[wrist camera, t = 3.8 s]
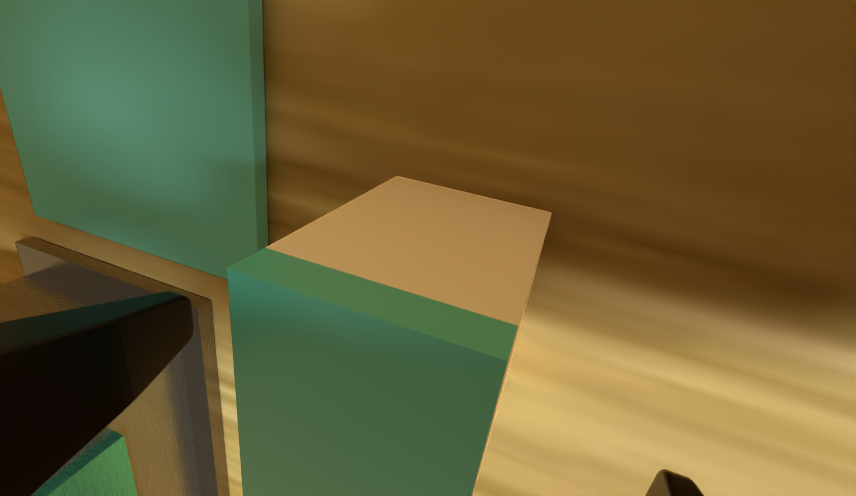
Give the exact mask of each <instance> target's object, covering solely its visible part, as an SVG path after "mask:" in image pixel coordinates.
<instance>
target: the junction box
mask: <svg viewBox="0 0 856 496" xmlns="http://www.w3.org/2000/svg"><path fill="white" fill-rule="evenodd" d="M15 244H16V248H17V251H18V254H19V258H20V261H21V264H22V268H23V271H24V274H25V276H24V277H21V278H18V279H16V280H13V281H10V282H8V283H5V284H2V285H0V322H5V321H10V320H15V319H21V318H26V317H31V316H37V315H42V314H48V313H53V312H58V311H64V310H69V309H74V308H80V307H85V306H90V305H96V304H101V303H107V302H112V301H117V300H123V299H128V298H133V297H139V296H144V295H149V294H155V293H160V292H166V291H173V292H177V293H179V294H182V295H185V296H187V297H188V298H189V299H190V300H191V303H192V311H193V320H194V334H193V337H192V339H191V340H190V342H189V343H188V344H187V345H186V346H185V347H184V348H183V349H182V350H181V351H180V353H179V354H178V355H177V356H176V357H175V358H174V359H173V360H172V361H171V362H170V363H169V364H168V366H167V367H166V368H165V369H164V370H163V371H162V372H161V373H160V374H159V375H158V376H157V377H156V379H155V380H154V381H153V382H152V383H151V384H150V385H149V386H148V387H147V388H146V389H145V390H144V392H143V393H142V394H141V395H140V396H139V397H138V398H137V399H136V400H135V401H134V402H133V403H132V404H131V405H130V406H129V407H128V408H126V409H125V410H124V411H123V412H122V413H121V414H120V415H119V416H118V417H117V418H116V419H115V420H113V421H112V422H111V423H110V424H109V425H108V426H107V427H106V428H105V429H104V430H103V431H102V432H100V433H99V434H98V435H97V436H96V437H95V438H94V439H93V440H92V441H91V442H90V443H88V444H87V445H86V446H85V447H84V448H83V449H82V450H81V451H80V452H79V453H78V454H76V455H75V456H74V457H73V458H72V459H71V460H70V461H69V462H68V463H67V464H66V465H64V466H63V467H62V468H61V469H60V470H59V471H58V472H57V473H56V474H55V475H54V476H52V477H51V478H50V479H49V480H48V481H47V482H46V483H45V484H44V485H43V486H42V487H41V488H39V489H38V490H37V491H36V492H35V493H34V494H33V495H32V496H229V486H228V476H227V465H226V455H225V444H224V433H223V423H222V412H221V401H220V391H219V380H218V370H217V359H216V348H215V338H214V327H213V317H212V306H211V300H209V299H206V298H203V297H200V296H197V295H195V294H192V293H189V292H186V291H183V290H180V289H178V288H175V287H172V286H169V285H166V284H164V283H161V282H158V281H155V280H152V279H149V278H147V277H144V276H141V275H138V274H135V273H133V272H130V271H127V270H124V269H121V268H119V267H116V266H113V265H110V264H107V263H104V262H102V261H99V260H96V259H93V258H90V257H88V256H85V255H82V254H79V253H76V252H73V251H71V250H68V249H65V248H62V247H59V246H57V245H54V244H51V243H48V242H45V241H42V240H40V239H37V238H34V237H29V238H26V239H23V240H20V241H16V242H15Z"/></svg>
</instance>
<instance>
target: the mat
mask: <svg viewBox="0 0 856 496" xmlns="http://www.w3.org/2000/svg"><path fill="white" fill-rule="evenodd" d="M0 88H1V92H2V95H3V99H4V103H5V106H6V110H7V114H8V117H9V121H10V125H11V129H12V132H13V136H14V140H15V143H16V147H17V151H18V154H19V158H20V162H21V165H22V169H23V173H24V177H25V180H26V184H27V188H28V191H29V195H30V199H31V202H32V206H33V210H34V213H35V215H37V216H40V217H43V218H46V219H49V220H52V221H55V222H57V223H60V224H63V225H66V226H69V227H72V228H75V229H78V230H81V231H84V232H87V233H90V234H93V235H96V236H99V237H102V238H105V239H108V240H111V241H114V242H117V243H120V244H123V245H126V246H129V247H132V248H135V249H138V250H141V251H144V252H147V253H150V254H153V255H156V256H159V257H162V258H165V259H168V260H171V261H173V262H176V263H179V264H182V265H185V266H188V267H191V268H194V269H197V270H200V271H203V272H206V273H209V274H212V275H215V276H218V277H221V278H224V279H227V280H228V276H227V268H228V267H230V266H232V265H234V264H236V263H238V262H239V261H241V260H243V259H245V258H247V257H249V256H250V255H252V254H254V253H256V252H258V251H260V250H261V249H263V248H265V247H267V246H268V210H267V171H266V133H265V95H264V56H263V18H262V0H0Z"/></svg>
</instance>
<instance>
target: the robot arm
mask: <svg viewBox="0 0 856 496" xmlns="http://www.w3.org/2000/svg"><path fill="white" fill-rule="evenodd" d="M193 334H194V320H193V311H192V303H191V300H190V299H189V298H188V297H187V296H185V295H182V294H179V293H177V292H173V291H166V292H160V293H155V294H149V295H144V296H139V297H133V298H128V299H123V300H117V301H112V302H107V303H101V304H96V305H90V306H85V307H80V308H74V309H69V310H64V311H58V312H53V313H48V314H42V315H37V316H31V317H26V318H21V319H15V320H10V321H5V322H0V496H32V495H33V494H34V493H35V492H36V491H37V490H38V489H39V488H41V487H42V486H43V485H44V484H45V483H46V482H47V481H48V480H49V479H50V478H51V477H52V476H54V475H55V474H56V473H57V472H58V471H59V470H60V469H61V468H62V467H63V466H64V465H66V464H67V463H68V462H69V461H70V460H71V459H72V458H73V457H74V456H75V455H76V454H78V453H79V452H80V451H81V450H82V449H83V448H84V447H85V446H86V445H87V444H88V443H90V442H91V441H92V440H93V439H94V438H95V437H96V436H97V435H98V434H99V433H100V432H102V431H103V430H104V429H105V428H106V427H107V426H108V425H109V424H110V423H111V422H112V421H113V420H115V419H116V418H117V417H118V416H119V415H120V414H121V413H122V412H123V411H124V410H125V409H126V408H128V407H129V406H130V405H131V404H132V403H133V402H134V401H135V400H136V399H137V398H138V397H139V396H140V395H141V394H142V393H143V392H144V390H145V389H146V388H147V387H148V386H149V385H150V384H151V383H152V382H153V381H154V380H155V379H156V377H157V376H158V375H159V374H160V373H161V372H162V371H163V370H164V369H165V368H166V367H167V366H168V364H169V363H170V362H171V361H172V360H173V359H174V358H175V357H176V356H177V355H178V354H179V353H180V351H181V350H182V349H183V348H184V347H185V346H186V345H187V344H188V343H189V342H190V340H191V339H192V337H193ZM646 496H704V495H703V494H702V492H701V491H700V489H699V488H698V487H697V485H696V484H695V483H694V482H693V481H692V480H691V479H690V478H688V477H686V476H683V475H680V474H677V473H675V472H672V471H669V470H666V469H663V470H660V471H659V472H658V473H657V475H656V477H655V479H654V480H653V482H652V484H651V486H650V488H649V490H648V492H647V494H646Z"/></svg>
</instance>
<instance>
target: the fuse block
mask: <svg viewBox="0 0 856 496" xmlns="http://www.w3.org/2000/svg"><path fill="white" fill-rule="evenodd" d="M551 214H552V212H548V211H544V210H540V209H536V208H532V207H527V206H523V205H519V204H515V203H510V202H506V201H502V200H498V199H494V198H489V197H485V196H481V195H477V194H472V193H468V192H464V191H460V190H456V189H451V188H447V187H443V186H439V185H434V184H430V183H426V182H422V181H417V180H413V179H409V178H405V177H401V176H395V177H394V178H392V179H390V180H388V181H386V182H384V183H383V184H381V185H379V186H377V187H375V188H373V189H372V190H370V191H368V192H366V193H364V194H362V195H361V196H359V197H357V198H355V199H353V200H351V201H349V202H348V203H346V204H344V205H342V206H340V207H338V208H337V209H335V210H333V211H331V212H329V213H327V214H326V215H324V216H322V217H320V218H318V219H316V220H315V221H313V222H311V223H309V224H307V225H305V226H304V227H302V228H300V229H298V230H296V231H294V232H293V233H291V234H289V235H287V236H285V237H283V238H282V239H280V240H278V241H276V242H274V243H272V244H271V245H269V246H267V247H265V248H263V249H261V250H260V251H258V252H256V253H254V254H252V255H250V256H249V257H247V258H245V259H243V260H241V261H239V262H238V263H236V264H234V265H232V266H230V267H228V268H227V276H228V290H229V304H230V318H231V332H232V347H233V361H234V375H235V389H236V403H237V417H238V431H239V445H240V459H241V474H242V488H243V496H473V494H474V490H475V487H476V483H477V480H478V476H479V473H480V469H481V466H482V462H483V459H484V455H485V452H486V448H487V445H488V441H489V438H490V434H491V431H492V427H493V424H494V420H495V417H496V413H497V410H498V406H499V403H500V399H501V396H502V392H503V389H504V385H505V382H506V378H507V375H508V371H509V367H510V364H511V360H512V357H513V353H514V349H515V346H516V342H517V338H518V335H519V331H520V327H521V324H522V320H523V316H524V313H525V309H526V306H527V302H528V298H529V295H530V291H531V287H532V284H533V280H534V276H535V273H536V269H537V265H538V262H539V258H540V255H541V251H542V247H543V244H544V240H545V236H546V233H547V229H548V225H549V222H550V218H551Z"/></svg>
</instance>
